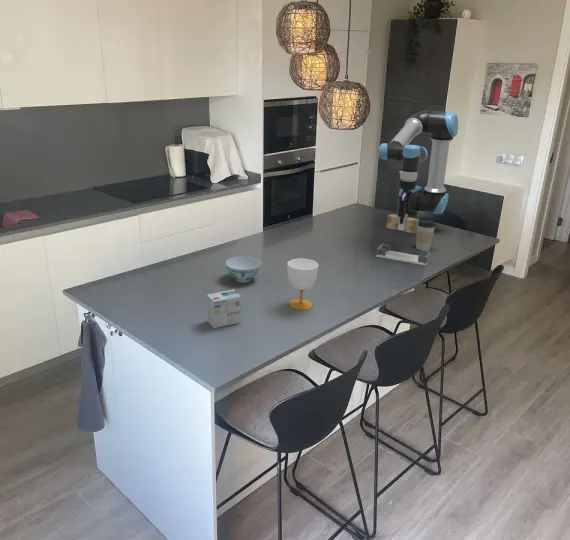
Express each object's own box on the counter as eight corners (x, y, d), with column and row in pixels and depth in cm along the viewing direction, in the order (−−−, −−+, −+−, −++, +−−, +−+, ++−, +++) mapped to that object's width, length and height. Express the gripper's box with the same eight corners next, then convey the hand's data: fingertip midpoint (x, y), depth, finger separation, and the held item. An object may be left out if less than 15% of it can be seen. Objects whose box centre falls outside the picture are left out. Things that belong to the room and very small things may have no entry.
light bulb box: (234, 315, 198) (234, 288, 194) (241, 323, 193) (241, 295, 188) (206, 320, 193) (206, 293, 189) (213, 329, 188) (213, 301, 184)
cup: (291, 296, 215) (293, 256, 209) (319, 301, 211) (322, 261, 205) (281, 307, 205) (282, 266, 198) (310, 314, 201) (312, 271, 195)
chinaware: (221, 274, 233) (221, 258, 230) (254, 271, 238) (254, 254, 235) (231, 288, 220) (231, 271, 217) (265, 284, 225) (266, 267, 222)
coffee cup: (432, 252, 269) (436, 223, 263) (413, 250, 270) (417, 221, 265) (431, 246, 277) (435, 218, 271) (413, 244, 279) (417, 216, 273)
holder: (380, 251, 268) (381, 243, 266) (429, 259, 259) (430, 251, 258) (376, 256, 260) (377, 248, 259) (426, 265, 251) (427, 257, 250)
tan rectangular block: (386, 227, 257) (387, 215, 255) (389, 225, 260) (390, 213, 258) (414, 233, 250) (416, 221, 248) (417, 231, 254) (419, 219, 251)
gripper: (404, 175, 255) (398, 222, 264) (395, 182, 240) (389, 232, 249) (420, 177, 252) (413, 225, 261) (412, 184, 237) (405, 234, 246)
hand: (402, 228), depth 255 cm, fingers closed on tan rectangular block, 4 cm apart
